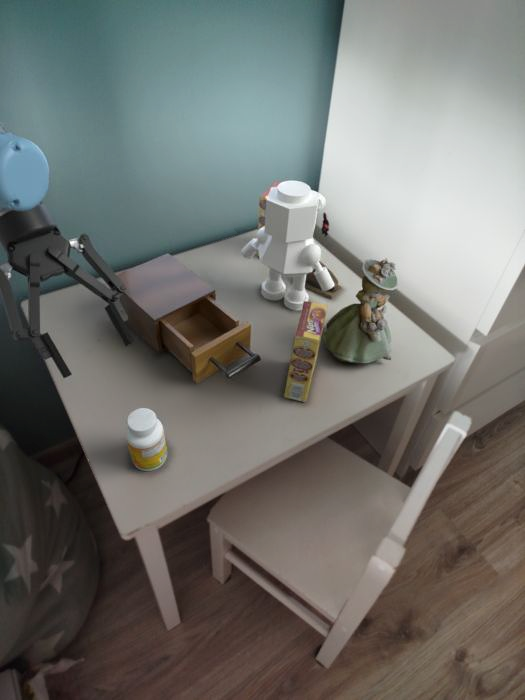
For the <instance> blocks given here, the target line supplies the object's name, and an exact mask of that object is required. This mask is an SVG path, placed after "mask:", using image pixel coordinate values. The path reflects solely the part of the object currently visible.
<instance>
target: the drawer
mask: <svg viewBox="0 0 525 700" xmlns="http://www.w3.org/2000/svg"><path fill="white" fill-rule="evenodd" d="M159 328H160V335H161V342H162V344H163V345H164V346H165V347H166V348H167V349H168V350H167V351H168V352H170V353H171V354H172V355H173V356H174V358H176V359H177V360H178V361H179V362H180V363H181V364H182V365H183V366H184V367H185V368H186V369H187V370H188V371H190V372H191V373H192V379H193V381H194V382H195V383H196V384H199V383H201V382H203V381H204V380H205V379H207V378H209V377H210V376H212V375H213V374H215V373H217V372H219V371H220V372H222V373H223V374H224V377H225V379H226V380H228V381H231V380H232V379H234V378H235V377H238V376H239V375H240V374H242V373H243V372H245V371H247V370H248V369H250V368H251V367H253V366H254V365H256V364H257V363H259V362H260V361H261V360H262V358H261V355H260V354H259V353H254V352H253V351H252V350H251V337H252V324H251V323H250V322H249V321H245V322H243V323H241V324H240V319H239V318H237V317H236V316H235V315H234V314H232V313H231V311H229V310H227V309H226V308H225V307H224V306H222V305H221V304H219V303H218V302H217V300H216V301H215V300H213V299H212V298H211V297H210V296H208V297H206V298H204V299H202V300H200V301H198V302H196V303H194V304H192V305H190V306H188V307H186V308H184V309H182V310H180V311H178V312H176V313H174V314H172V315H170V316H168V317H166V318H165V319H163V320H161V321H159ZM246 354H247V355H248V356H249V358H246V359H245V360H243V361H242V362H240V363H239V364H237V365H235V366H234V367H232V368H231V369H229V370H228V369H227V368H226V366H228V365H230V364H232V363H233V362H235V361H236V360H238V359H240V358H242V357H243V356H245V355H246Z"/></svg>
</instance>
